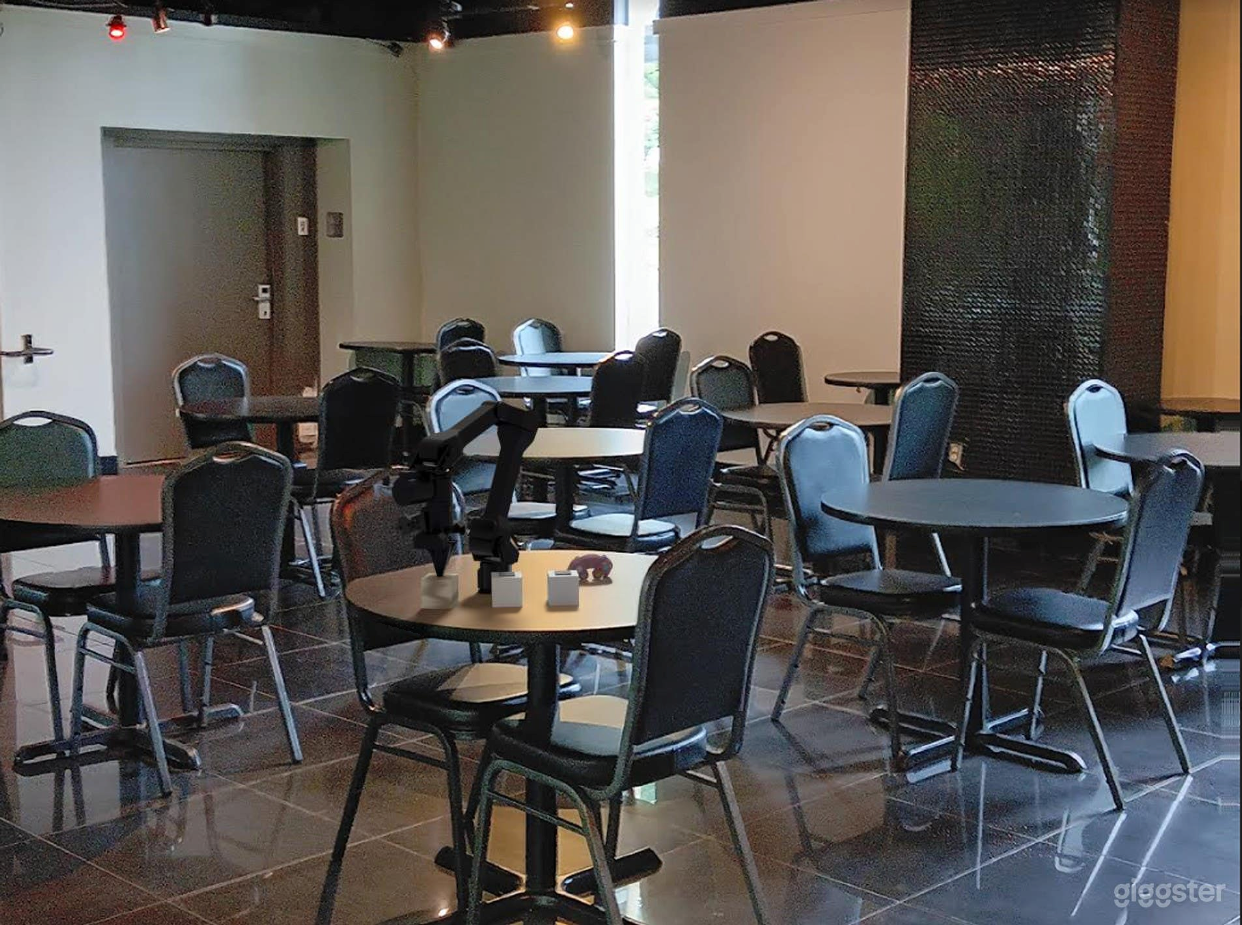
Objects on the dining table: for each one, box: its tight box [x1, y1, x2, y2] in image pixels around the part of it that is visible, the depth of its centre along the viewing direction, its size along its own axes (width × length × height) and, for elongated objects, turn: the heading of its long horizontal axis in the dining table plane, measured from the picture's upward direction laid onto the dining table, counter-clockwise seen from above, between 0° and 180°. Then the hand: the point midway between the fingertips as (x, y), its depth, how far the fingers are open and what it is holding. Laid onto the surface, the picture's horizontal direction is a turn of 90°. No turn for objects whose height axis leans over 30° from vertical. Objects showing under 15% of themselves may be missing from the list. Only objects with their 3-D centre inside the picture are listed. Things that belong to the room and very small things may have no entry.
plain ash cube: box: [420, 572, 459, 610], centre depth 309 cm, size 6×6×6 cm
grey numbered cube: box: [546, 569, 580, 607], centre depth 312 cm, size 6×6×6 cm
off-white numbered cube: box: [491, 571, 524, 608], centre depth 311 cm, size 6×6×6 cm
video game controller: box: [566, 553, 614, 581], centre depth 334 cm, size 10×5×7 cm, turn 107°
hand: (440, 576), depth 309 cm, fingers closed, pressing on plain ash cube
